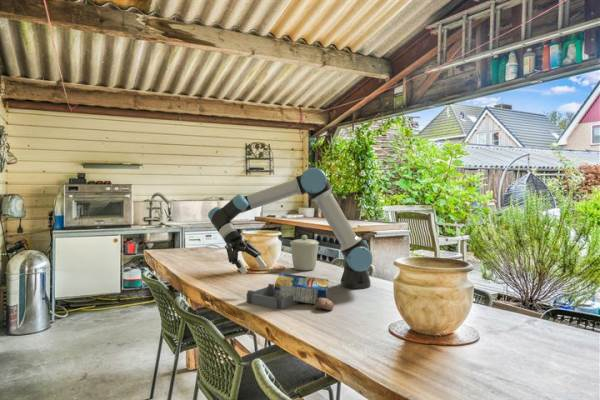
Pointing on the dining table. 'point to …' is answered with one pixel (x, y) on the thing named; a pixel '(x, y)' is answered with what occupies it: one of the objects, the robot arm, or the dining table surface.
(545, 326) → the dining table surface
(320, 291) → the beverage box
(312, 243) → the canister
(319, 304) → the mushroom
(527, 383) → the dining table surface
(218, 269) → the dining table surface
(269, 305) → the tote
